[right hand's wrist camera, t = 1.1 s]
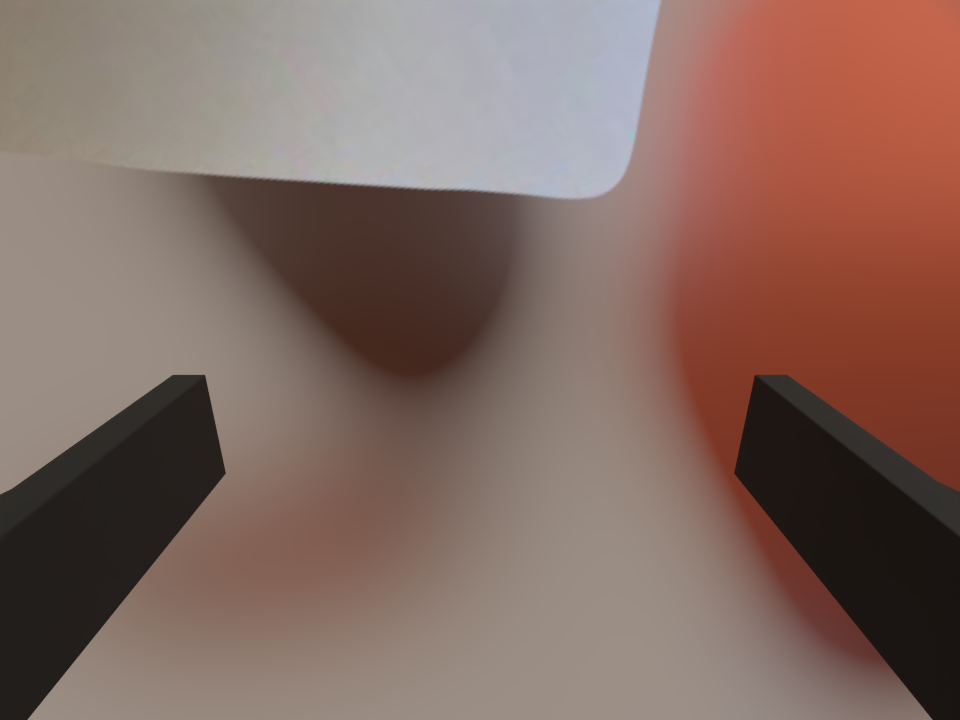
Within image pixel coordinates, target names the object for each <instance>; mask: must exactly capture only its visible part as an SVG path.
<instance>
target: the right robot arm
mask: <svg viewBox="0 0 960 720" xmlns="http://www.w3.org/2000/svg"><path fill="white" fill-rule="evenodd" d="M225 474H226V472H225V468H224V463H223V458H222V453H221V449H220V444H219V439H218V434H217V430H216V425H215V420H214V415H213V411H212V406H211V401H210V396H209V392H208V387H207V382H206V377H205V375H172V376H171V377H169V378H168V379H167V380H165V381H164V382H162V383H161V384H160V385H158V386H157V387H155V388H154V389H152V390H151V391H150V392H148V393H147V394H145V395H144V396H143V397H141V398H140V399H138V400H137V401H136V402H134V403H133V404H131V405H130V406H129V407H127V408H126V409H124V410H123V411H121V412H120V413H119V414H117V415H116V416H114V417H113V418H111V419H110V420H109V421H107V422H106V423H104V424H103V425H102V426H100V427H99V428H97V429H96V430H95V431H93V432H92V433H90V434H89V435H87V436H86V437H85V438H83V439H82V440H80V441H79V442H78V443H76V444H75V445H73V446H72V447H71V448H69V449H68V450H66V451H65V452H63V453H62V454H61V455H59V456H58V457H56V458H55V459H54V460H52V461H51V462H49V463H48V464H46V465H45V466H44V467H42V468H41V469H39V470H38V471H37V472H35V473H34V474H32V475H31V476H30V477H28V478H27V479H25V480H24V481H22V482H21V483H20V484H18V485H17V486H15V487H14V488H13V489H11V490H9V491H7V492H5V493H3V494H0V720H27V719H28V718H29V717H30V716H31V714H32V713H33V712H34V711H35V710H36V708H37V707H38V706H39V705H40V703H41V702H42V701H43V700H44V698H45V697H46V696H47V695H48V693H49V692H50V691H51V690H52V688H53V687H54V686H55V685H56V683H57V682H58V681H59V680H60V678H61V677H62V676H63V675H64V674H65V672H66V671H67V670H68V669H69V667H70V666H71V665H72V664H73V662H74V661H75V660H76V659H77V657H78V656H79V655H80V654H81V652H82V651H83V650H84V649H85V647H86V646H87V645H88V644H89V642H90V641H91V640H92V639H93V637H94V636H95V635H96V634H97V633H98V631H99V630H100V629H101V628H102V626H103V625H104V624H105V623H106V621H107V620H108V619H109V618H110V616H111V615H112V614H113V613H114V611H115V610H116V609H117V608H118V606H119V605H120V604H121V603H122V602H123V600H124V599H125V598H126V596H127V595H128V594H129V593H130V592H131V590H132V589H133V588H134V587H135V585H136V584H137V583H138V582H139V580H140V579H141V578H142V577H143V575H144V574H145V573H146V572H147V570H148V569H149V568H150V567H151V565H152V564H153V563H154V562H155V561H156V559H157V558H158V557H159V556H160V554H161V553H162V552H163V551H164V549H165V548H166V547H167V546H168V544H169V543H170V542H171V541H172V539H173V538H174V537H175V536H176V534H177V533H178V532H179V531H180V530H181V528H182V527H183V526H184V525H185V523H186V522H187V521H188V520H189V518H190V517H191V516H192V515H193V513H194V512H195V511H196V510H197V508H198V507H199V506H200V505H201V503H202V502H203V501H204V500H205V498H206V497H207V496H208V495H209V493H210V492H211V491H212V490H213V489H214V487H215V486H216V485H217V484H218V482H219V481H220V480H221V479H222V477H223V476H224V475H225ZM735 475H736V476H737V477H738V479H739V480H740V481H741V482H742V484H743V485H744V486H745V487H746V488H747V490H748V491H749V492H750V494H751V495H752V496H753V497H754V498H755V500H756V501H757V502H758V503H759V505H760V506H761V507H762V508H763V510H764V511H765V512H766V513H767V515H768V516H769V517H770V518H771V520H772V521H773V522H774V523H775V525H776V526H777V527H778V528H779V529H780V531H781V532H782V533H783V534H784V536H785V537H786V538H787V539H788V541H789V542H790V543H791V544H792V546H793V547H794V548H795V549H796V551H797V552H798V553H799V554H800V556H801V557H802V558H803V559H804V561H805V562H806V563H807V564H808V565H809V567H810V568H811V569H812V570H813V572H814V573H815V574H816V575H817V577H818V578H819V579H820V580H821V582H822V583H823V584H824V585H825V586H826V588H827V589H828V590H829V592H830V593H831V594H832V595H833V597H834V598H835V599H836V600H837V601H838V603H839V604H840V605H841V606H842V608H843V609H844V610H845V611H846V613H847V614H848V615H849V616H850V618H851V619H852V620H853V621H854V623H855V624H856V625H857V626H858V628H859V629H860V630H861V631H862V633H863V634H864V635H865V636H866V637H867V639H868V640H869V641H870V642H871V644H872V645H873V646H874V647H875V649H876V650H877V651H878V652H879V654H880V655H881V656H882V657H883V659H884V660H885V661H886V662H887V664H888V665H889V666H890V667H891V669H892V670H893V671H894V672H895V674H896V675H897V676H898V677H899V678H900V680H901V681H902V682H903V683H904V685H905V686H906V687H907V688H908V690H909V691H910V692H911V693H912V695H913V696H914V697H915V698H916V700H917V701H918V702H919V703H920V704H921V706H922V707H923V708H924V709H925V711H926V712H927V713H928V714H929V716H930V717H931V718H932V719H933V720H960V492H958V491H956V490H954V489H952V488H950V487H948V486H945V485H943V484H941V483H939V482H938V481H936V480H935V479H933V478H932V477H930V476H929V475H928V474H926V473H925V472H923V471H922V470H921V469H919V468H918V467H916V466H915V465H913V464H912V463H911V462H909V461H908V460H906V459H905V458H904V457H902V456H901V455H899V454H898V453H896V452H895V451H894V450H892V449H891V448H889V447H888V446H887V445H885V444H884V443H882V442H881V441H880V440H878V439H877V438H875V437H874V436H873V435H871V434H870V433H868V432H867V431H865V430H864V429H863V428H861V427H860V426H858V425H857V424H856V423H854V422H853V421H851V420H850V419H849V418H847V417H846V416H844V415H843V414H841V413H840V412H839V411H837V410H836V409H834V408H833V407H832V406H830V405H829V404H827V403H826V402H824V401H823V400H822V399H820V398H819V397H817V396H816V395H814V394H813V393H812V392H810V391H809V390H807V389H806V388H805V387H803V386H802V385H800V384H799V383H798V382H796V381H795V380H793V379H792V378H791V377H789V376H788V375H755V377H754V382H753V387H752V392H751V396H750V401H749V406H748V411H747V415H746V420H745V425H744V430H743V434H742V439H741V444H740V449H739V453H738V458H737V463H736V468H735Z"/></svg>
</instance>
